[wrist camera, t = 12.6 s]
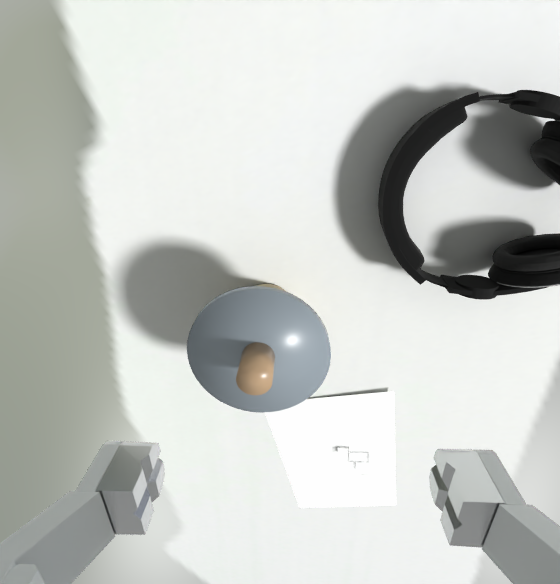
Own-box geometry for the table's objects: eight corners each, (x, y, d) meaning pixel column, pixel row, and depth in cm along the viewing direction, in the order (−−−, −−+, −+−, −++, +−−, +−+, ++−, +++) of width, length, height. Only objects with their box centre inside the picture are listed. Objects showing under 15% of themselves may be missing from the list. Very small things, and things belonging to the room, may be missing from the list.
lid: (180, 286, 32) (163, 310, 27) (331, 285, 31) (336, 309, 27) (199, 404, 37) (186, 439, 33) (328, 405, 36) (332, 441, 32)
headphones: (596, 326, 32) (365, 292, 34) (550, 292, 39) (361, 265, 41) (712, 98, 25) (411, 73, 27) (630, 107, 32) (397, 86, 34)
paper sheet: (393, 511, 55) (395, 518, 54) (207, 504, 58) (205, 511, 57) (406, 386, 45) (408, 392, 44) (181, 385, 48) (179, 391, 47)
